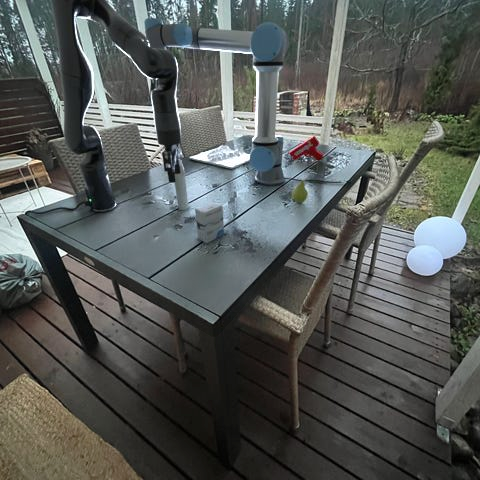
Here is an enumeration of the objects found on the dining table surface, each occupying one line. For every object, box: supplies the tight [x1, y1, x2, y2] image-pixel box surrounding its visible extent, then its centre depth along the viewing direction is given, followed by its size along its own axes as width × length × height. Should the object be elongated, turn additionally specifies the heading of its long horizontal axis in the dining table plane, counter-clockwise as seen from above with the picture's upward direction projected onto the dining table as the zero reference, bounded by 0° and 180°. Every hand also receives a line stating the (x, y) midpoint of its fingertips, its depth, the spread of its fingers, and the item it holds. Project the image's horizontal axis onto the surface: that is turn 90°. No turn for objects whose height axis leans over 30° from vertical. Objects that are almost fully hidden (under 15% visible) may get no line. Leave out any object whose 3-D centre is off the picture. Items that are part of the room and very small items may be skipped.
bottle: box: [174, 160, 190, 211], centre depth 111 cm, size 4×4×23 cm
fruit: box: [291, 174, 311, 204], centre depth 118 cm, size 7×8×12 cm
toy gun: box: [288, 135, 324, 163], centre depth 172 cm, size 18×4×15 cm
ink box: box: [194, 201, 225, 244], centre depth 94 cm, size 8×5×12 cm, turn 135°
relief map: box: [189, 144, 250, 170], centre depth 177 cm, size 27×35×5 cm
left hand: (175, 177), depth 92 cm, fingers open, 8 cm apart
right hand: (166, 116), depth 130 cm, fingers open, 13 cm apart
